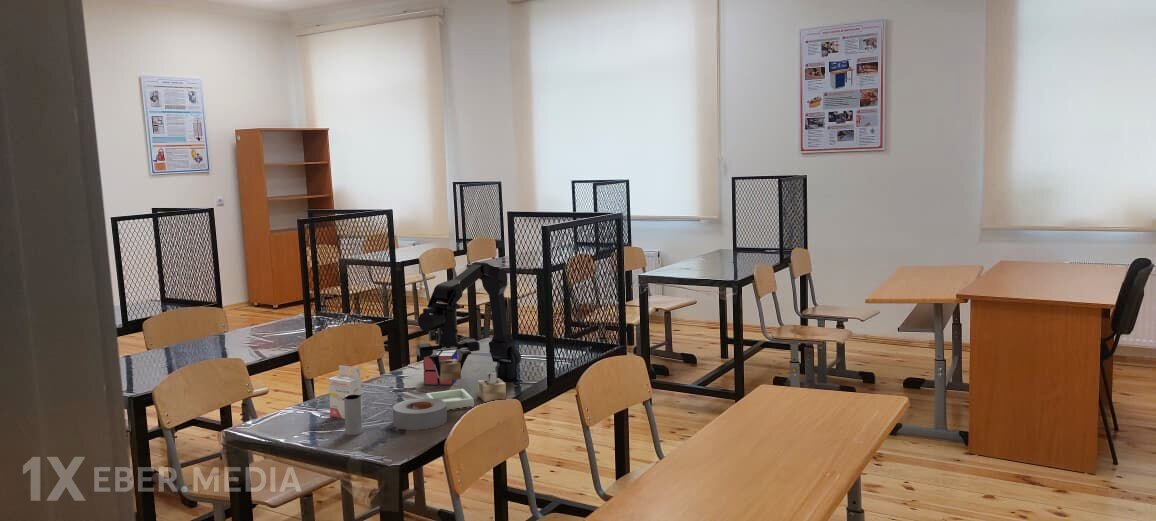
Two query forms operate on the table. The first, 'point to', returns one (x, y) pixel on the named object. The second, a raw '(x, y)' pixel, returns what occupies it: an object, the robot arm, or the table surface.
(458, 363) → the block
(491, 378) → the pin
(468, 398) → the tray
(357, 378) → the ink cartridge box
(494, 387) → the bore block
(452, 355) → the puzzle cube
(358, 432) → the grey tall cylinder
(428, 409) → the tape roll
